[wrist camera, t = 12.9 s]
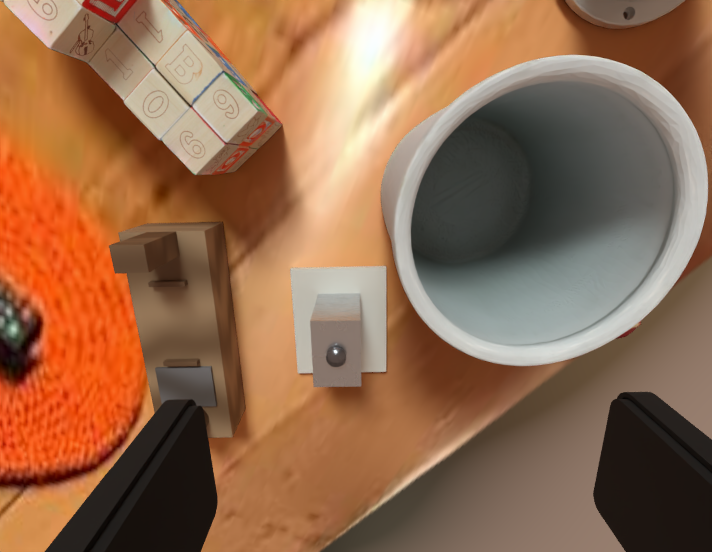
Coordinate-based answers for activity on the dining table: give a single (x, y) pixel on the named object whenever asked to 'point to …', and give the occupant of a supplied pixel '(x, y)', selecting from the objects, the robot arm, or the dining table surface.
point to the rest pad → (342, 281)
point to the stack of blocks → (160, 74)
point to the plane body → (185, 317)
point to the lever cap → (336, 340)
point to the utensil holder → (545, 209)
